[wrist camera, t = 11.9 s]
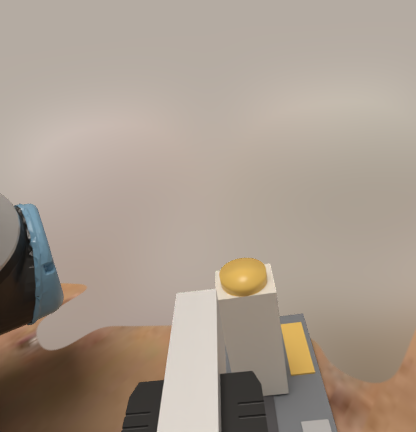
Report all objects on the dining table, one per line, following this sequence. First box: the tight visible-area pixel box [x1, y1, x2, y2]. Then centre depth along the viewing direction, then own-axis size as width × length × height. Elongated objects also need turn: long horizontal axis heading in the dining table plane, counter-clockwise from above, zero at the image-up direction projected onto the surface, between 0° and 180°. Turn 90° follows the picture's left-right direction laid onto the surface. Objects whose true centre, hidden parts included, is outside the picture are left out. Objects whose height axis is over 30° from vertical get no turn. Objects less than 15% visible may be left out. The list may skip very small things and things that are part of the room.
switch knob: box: [215, 258, 289, 396], centre depth 35 cm, size 4×5×14 cm
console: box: [225, 314, 337, 432], centre depth 37 cm, size 22×12×2 cm, turn 179°
